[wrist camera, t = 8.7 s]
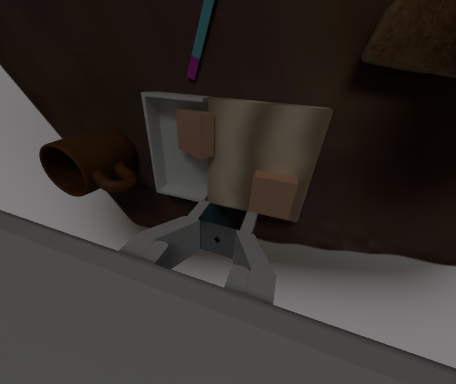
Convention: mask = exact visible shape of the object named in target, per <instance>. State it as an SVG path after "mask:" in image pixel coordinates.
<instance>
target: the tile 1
mask: <svg viewBox="0 0 456 384" xmlns="http://www.w3.org/2000/svg"><path fill="white" fill-rule="evenodd" d="M175 110H176V123H177V136H178V149H180V150H183V151H185V152H187V153H189V154H191V155H193V156H195V157H197V158H199V159H204V158H208V157H212V156H213V152H214V113H209V112H205V111H200V110H196V109H192V108H175Z"/></svg>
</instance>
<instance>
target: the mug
mask: <svg viewBox="0 0 456 384" xmlns="http://www.w3.org/2000/svg"><path fill="white" fill-rule="evenodd" d="M39 155H40V161H41V164H42V167H43V168H44V170H45V172H46V174H47V175H48V177H49V178H50V179H51V180H52V181H53V182H54V184H55V185H56V186H57V187H59V188H60V189H61V190H62V191H64V192H66V193H67V194H69V195H72V196H77V197H79V196H84V195H86V194H88V193H91V192H93V191H96V190H98V189H100V188H101V189H103V190H105V191H108V192H113V193H121V192H125V191H128V190H130V189H131V188H133V187H134V186H135V184H136V182H137V176H136V174H135V173H134V172H133V171H132V170H133V169H134V168H135V166H136V163H137V155H136V151H135V148H134V146H133V145H132V143H131V142H130V140H129V139H128V138H127V137H126V136H125V135H123V134H122V133H120V132H118V131H116V130H101V131H97V132H92V133H87V134H83V135H78V136H74V137H69V138H65V139H61V140H58V141H54V142H51V143H48V144H46V145H44V146H43V147H41V149H40V154H39ZM118 178H123V179H122V180H120V181H115V180H117V179H118Z"/></svg>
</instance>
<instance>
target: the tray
mask: <svg viewBox="0 0 456 384" xmlns="http://www.w3.org/2000/svg"><path fill="white" fill-rule="evenodd" d="M141 95H142V101H143V108H144V114H145V121H146V127H147V134H148V140H149V147H150V153H151V159H152V166H153V172H154V179H155V185H156V192H158V193H163V194H167V195H171V196H175V197H180V198H184V199H188V200H193V201H197V202H200V201H201V200H206V199H207V197H208V158H204V159H199V158H197V157H195V156H193V155H191V154H189V153H187V152H185V151H183V150H180V149H178V136H177V123H176V110H175V108H192V109H196V110H200V111H205V112H208V98H212V97H208V96H198V95H187V94H176V93H166V92H141Z"/></svg>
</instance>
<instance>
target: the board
mask: <svg viewBox="0 0 456 384" xmlns="http://www.w3.org/2000/svg"><path fill="white" fill-rule="evenodd" d="M208 112H209V113H214V152H213V156H212V157H208V201H210V202H214V203H217V204H221V205H225V206H229V207H232V208H237V209H241V210H245V211H248V209H249V202H250V195H251V189H252V182H253V176H254V174H255V171H256V170H260V171H266V172H271V173H277V174H283V175H288V176H294V177H298V186H297V190H296V193H295V197H294V200H293V204H292V207H291V210H290V214H289V217H288V221H293V222H297V221H298V218H299V215H300V212H301V209H302V205H303V202H304V199H305V196H306V193H307V190H308V187H309V184H310V181H311V178H312V175H313V172H314V169H315V165H316V162H317V159H318V156H319V153H320V150H321V147H322V144H323V141H324V138H325V135H326V132H327V129H328V125H329V122H330V119H331V116H332V113H333V110H332V109H330V108H326V107H315V106H305V105H294V104H283V103H273V102H262V101H251V100H240V99H230V98H219V97H214V98H208ZM258 214H259V213H258ZM262 215H264V214H262ZM267 216H268V215H267ZM271 217H272V216H271ZM275 218H277V217H275ZM280 219H281V218H280ZM284 220H286V219H284Z"/></svg>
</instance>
